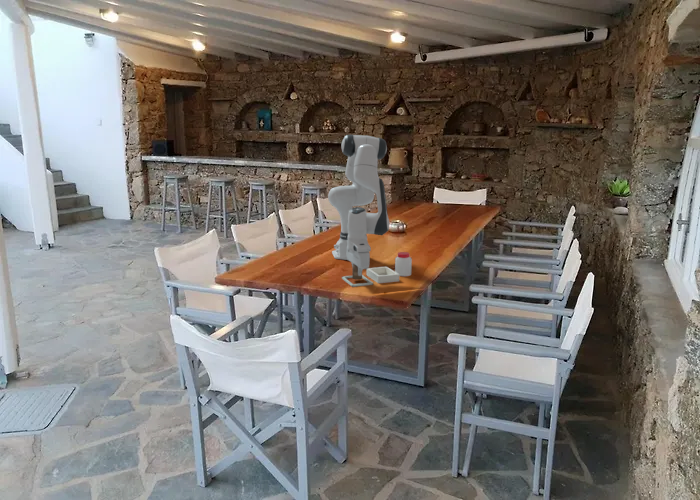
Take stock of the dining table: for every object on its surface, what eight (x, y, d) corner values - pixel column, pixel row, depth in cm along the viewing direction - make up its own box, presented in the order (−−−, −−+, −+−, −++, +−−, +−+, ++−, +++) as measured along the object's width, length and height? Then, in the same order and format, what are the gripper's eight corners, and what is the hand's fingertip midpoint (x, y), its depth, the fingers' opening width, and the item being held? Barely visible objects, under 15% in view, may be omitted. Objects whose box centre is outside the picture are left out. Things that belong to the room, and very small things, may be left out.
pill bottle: (410, 273, 260) (410, 251, 257) (412, 277, 252) (412, 255, 249) (394, 273, 259) (394, 251, 257) (396, 277, 252) (396, 255, 249)
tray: (341, 279, 248) (341, 276, 248) (361, 277, 252) (361, 274, 251) (352, 288, 236) (352, 284, 235) (373, 286, 239) (373, 282, 239)
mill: (351, 277, 245) (351, 263, 243) (360, 276, 246) (360, 262, 245) (354, 280, 241) (354, 266, 239) (363, 279, 242) (363, 265, 241)
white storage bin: (366, 276, 254) (366, 268, 253) (386, 274, 257) (386, 266, 256) (378, 285, 241) (378, 276, 240) (399, 282, 244) (399, 274, 243)
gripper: (343, 240, 248) (343, 268, 251) (358, 249, 229) (358, 280, 233) (355, 239, 250) (355, 267, 253) (372, 248, 231) (372, 279, 235)
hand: (357, 273), depth 243 cm, fingers closed on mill, 4 cm apart
